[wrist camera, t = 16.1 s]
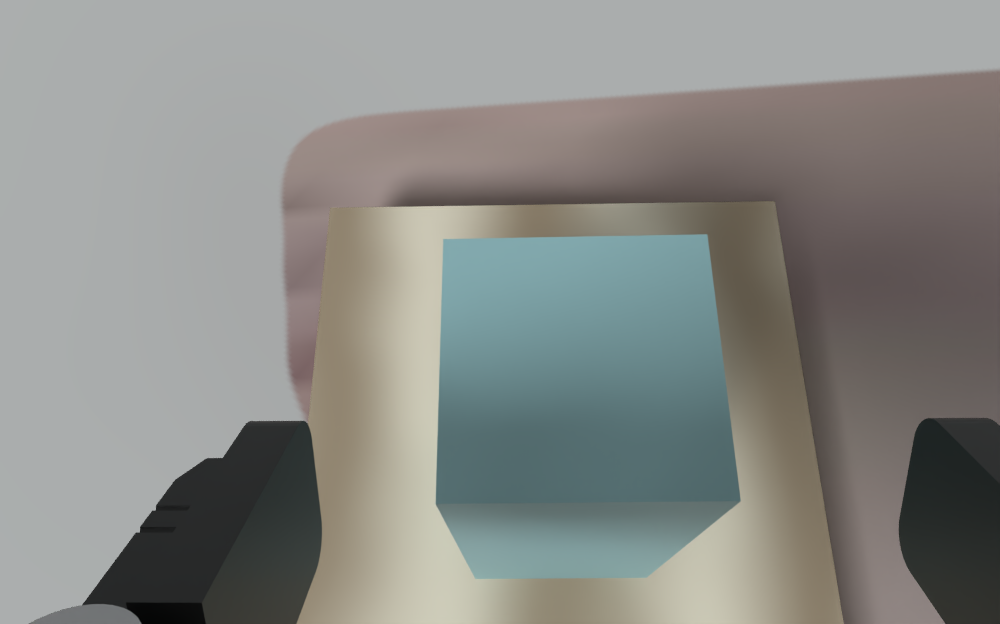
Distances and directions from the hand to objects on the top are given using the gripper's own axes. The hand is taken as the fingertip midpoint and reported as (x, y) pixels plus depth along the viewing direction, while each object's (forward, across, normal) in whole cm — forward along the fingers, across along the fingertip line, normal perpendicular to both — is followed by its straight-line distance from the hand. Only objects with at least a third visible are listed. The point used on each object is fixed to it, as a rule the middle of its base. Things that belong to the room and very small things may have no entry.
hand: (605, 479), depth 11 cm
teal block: (+9, 0, +6) cm, 11 cm away
